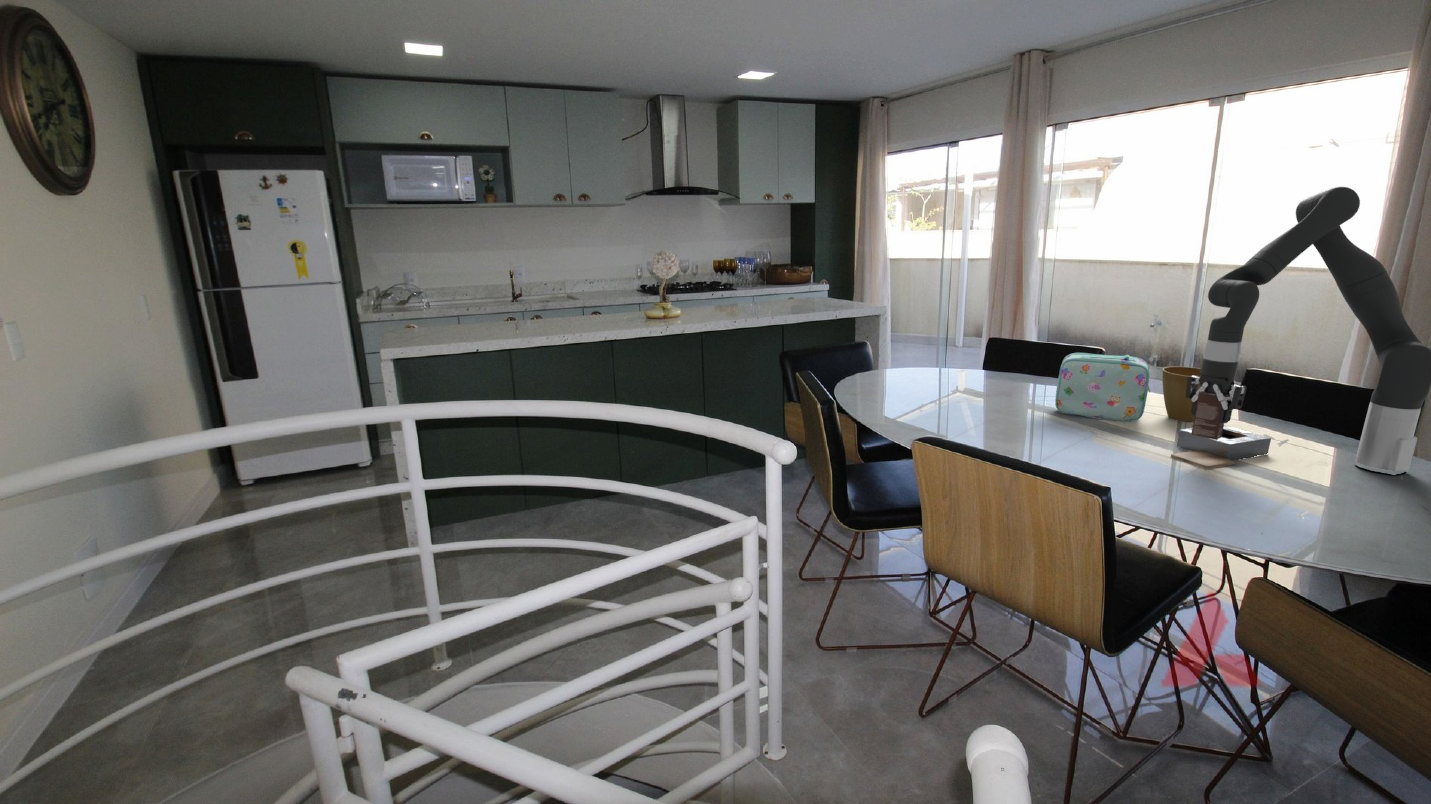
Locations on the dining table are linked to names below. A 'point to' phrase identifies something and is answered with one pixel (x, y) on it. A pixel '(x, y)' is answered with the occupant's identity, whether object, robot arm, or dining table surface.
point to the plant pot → (1178, 392)
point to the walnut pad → (1202, 459)
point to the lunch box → (1103, 386)
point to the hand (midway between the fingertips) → (1209, 418)
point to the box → (1208, 416)
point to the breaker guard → (1226, 443)
